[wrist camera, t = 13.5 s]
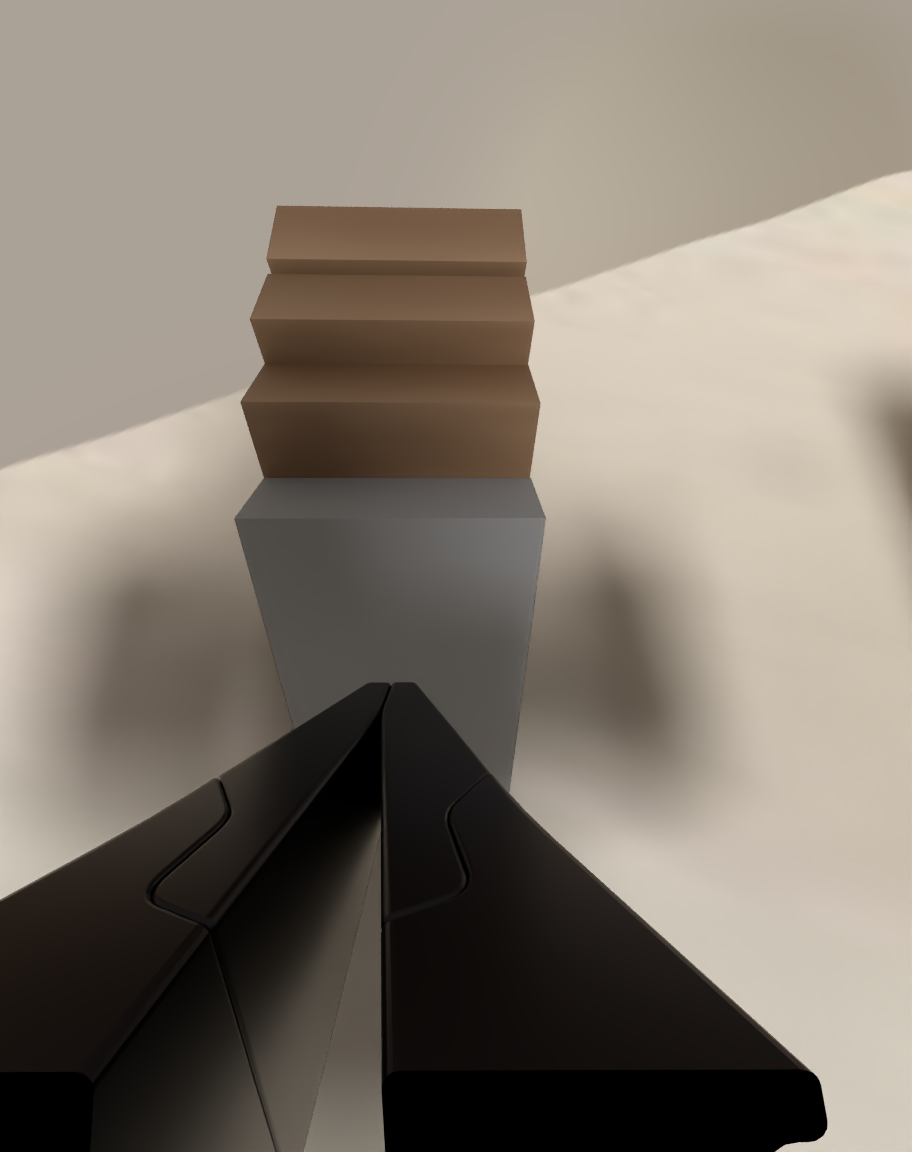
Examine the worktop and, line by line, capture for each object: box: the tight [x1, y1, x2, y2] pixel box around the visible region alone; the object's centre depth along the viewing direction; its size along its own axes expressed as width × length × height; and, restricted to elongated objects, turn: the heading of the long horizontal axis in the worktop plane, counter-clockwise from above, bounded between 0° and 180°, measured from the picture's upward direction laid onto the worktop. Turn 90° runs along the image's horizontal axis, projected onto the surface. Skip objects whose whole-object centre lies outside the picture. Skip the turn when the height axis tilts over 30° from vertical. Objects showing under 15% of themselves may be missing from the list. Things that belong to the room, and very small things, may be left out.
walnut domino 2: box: [250, 274, 534, 365], centre depth 13 cm, size 2×5×9 cm, turn 91°
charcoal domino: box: [234, 478, 546, 792], centre depth 11 cm, size 2×5×9 cm
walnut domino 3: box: [241, 363, 540, 478], centre depth 12 cm, size 2×5×9 cm, turn 90°
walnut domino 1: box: [267, 206, 527, 277], centre depth 14 cm, size 2×5×9 cm, turn 91°
